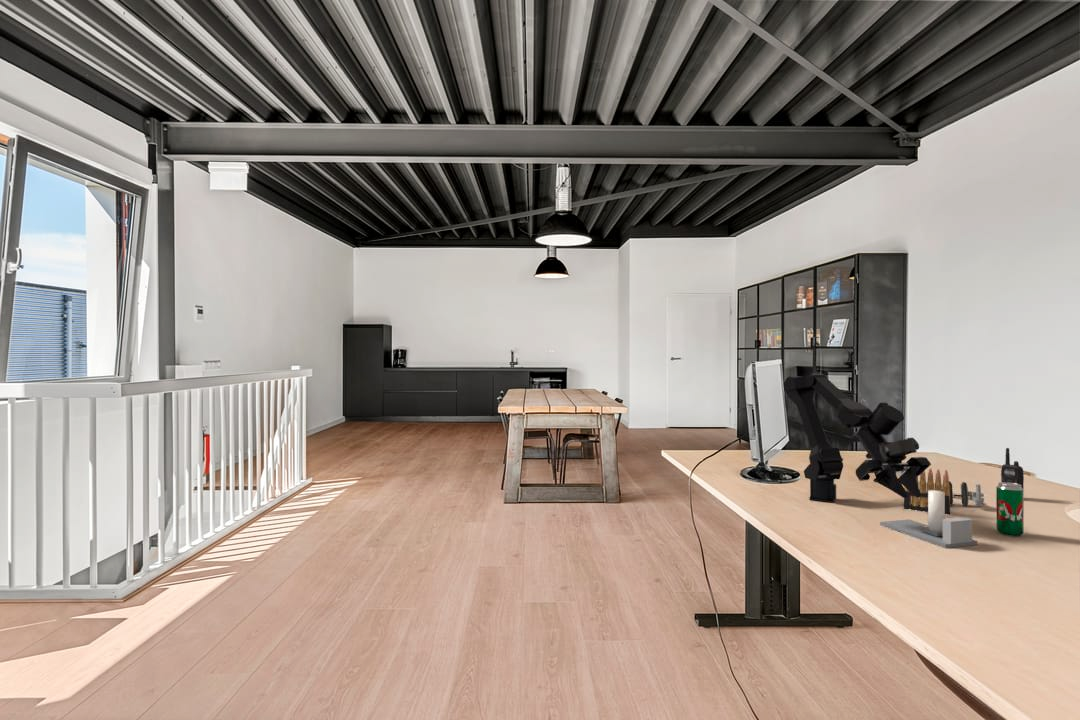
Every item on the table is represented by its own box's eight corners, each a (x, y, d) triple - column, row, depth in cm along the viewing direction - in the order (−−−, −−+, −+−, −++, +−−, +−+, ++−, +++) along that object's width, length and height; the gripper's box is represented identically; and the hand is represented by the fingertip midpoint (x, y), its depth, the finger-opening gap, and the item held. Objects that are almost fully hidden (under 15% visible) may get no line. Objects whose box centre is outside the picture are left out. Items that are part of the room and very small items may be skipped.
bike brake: (990, 509, 156) (973, 503, 174) (989, 484, 157) (972, 481, 175) (931, 504, 162) (920, 499, 180) (930, 480, 163) (919, 477, 181)
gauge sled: (920, 530, 136) (920, 489, 136) (943, 528, 138) (943, 488, 138) (937, 536, 132) (937, 494, 132) (961, 534, 134) (961, 492, 134)
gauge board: (880, 525, 145) (880, 502, 145) (909, 522, 147) (909, 500, 147) (945, 548, 127) (945, 522, 127) (977, 544, 129) (977, 519, 129)
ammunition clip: (950, 513, 155) (950, 469, 155) (950, 515, 154) (950, 470, 154) (904, 507, 161) (903, 465, 161) (903, 509, 160) (903, 466, 160)
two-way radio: (998, 496, 173) (998, 447, 172) (1006, 495, 174) (1006, 446, 174) (1020, 501, 168) (1020, 450, 167) (1028, 499, 169) (1028, 449, 169)
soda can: (1017, 531, 139) (1017, 482, 139) (1027, 537, 134) (1027, 486, 134) (992, 529, 140) (992, 481, 140) (1001, 535, 136) (1001, 485, 136)
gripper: (863, 428, 143) (901, 481, 133) (924, 425, 148) (965, 476, 137) (840, 454, 151) (874, 506, 140) (898, 451, 155) (935, 501, 145)
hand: (912, 497), depth 141 cm, fingers open, 3 cm apart
